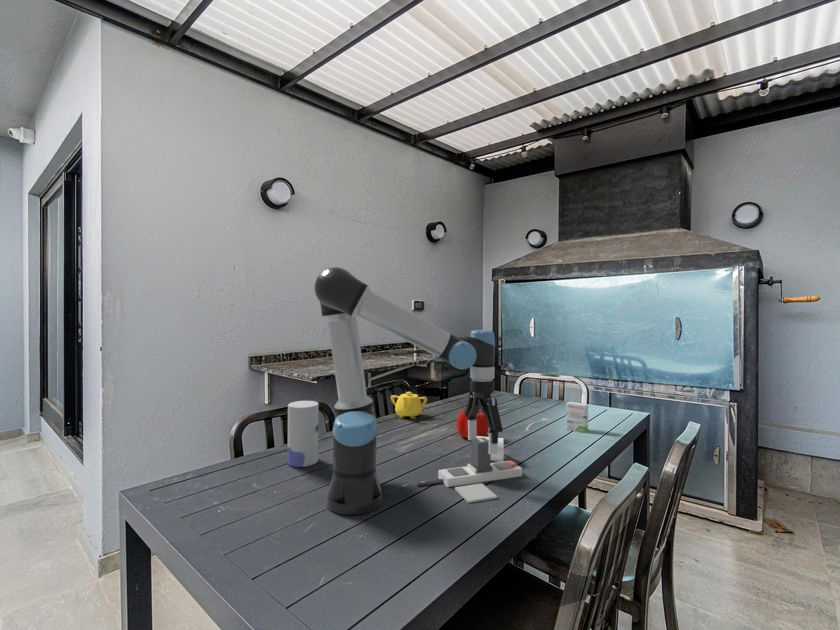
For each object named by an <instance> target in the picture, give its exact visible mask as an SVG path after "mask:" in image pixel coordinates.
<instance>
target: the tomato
mask: <svg viewBox="0 0 840 630" xmlns="http://www.w3.org/2000/svg"><path fill="white" fill-rule="evenodd" d="M465 410H466V409H463V410H461V411H460V412H459V414H458V415H457V419H456V430H457V433H458V434H459V435H460V436H461V437H463V438H466V439H468V419H467V416H465ZM476 417H477V419H476V420H477V436H483V437H487V435H488V434H489V433H488V432H489V426H488V423H487V420H486V417H485V414H484V413H483V412H480V411H479V412H478V414H477V416H476ZM474 420H475V419H474Z"/></svg>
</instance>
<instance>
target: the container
mask: <svg viewBox="0 0 840 630" xmlns="http://www.w3.org/2000/svg"><path fill="white" fill-rule="evenodd" d="M287 404H288V405H287V464H288V465H289V466H291V467H295V468H304V467H310V466H314V465H315V464H316V463H318V461H319V402H318V401H315V400H298V401H293V402H290V403H287Z"/></svg>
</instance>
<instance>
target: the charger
mask: <svg viewBox="0 0 840 630" xmlns="http://www.w3.org/2000/svg"><path fill="white" fill-rule="evenodd" d="M470 463H471V464H470V465H472V466H473V467H474V468H475V469H477V472H482V471H489V470H490V463H492V461H491V454H489V440H487V439H486V438H475V439H472V440H471V462H470Z"/></svg>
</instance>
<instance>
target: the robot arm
mask: <svg viewBox="0 0 840 630" xmlns="http://www.w3.org/2000/svg"><path fill="white" fill-rule="evenodd" d="M314 293H315V296H316V297H317V300H318V301H319V305H320V311H321V318H323V319H324V320H325V321H326V322H327V323H328V324H327V325H328V330H329V337H330V338H329V340H330V347H331V354H332V355H331V356H332V360H333V369H334V376H335V377H334V378H335V383H336V391H337V398H338V400H337V402H336V403H335V404H334V414H335V415H334V416H335V420H334V422H333V427H332V435H333V440H332V441H333V444H332V445H333V448H332V450H333V452H332V453H333V456H332V457H333V459H332V460H333V461H332V477H331V479H330V483H329V486H328V489H327V492H326V495H325V504H326V508H327V509H328V510H330V512H331V511H332V512H333V513H335V514H339V515H345V516H357V515H362V514H367V513H370V512H373V511H375V510H376V509H378V508H379V507H380V506H381V505H382V502H383V490H382V488H381V484H380V482H379V481H380V480H379V477H378V475H377V433H378V425H377V418H376V416H375V410H374V404H373V398H371V397H370V396H368V395H367V393H368V392H367V387H366V379H365V373H364V365H363V364H364V363H363V356H362V349H361V343H360V335H359V327H358V326H359V325H358V320H357V319H358V317H360V318H362V319H364V320H365V321H368V322H370V323H372V324H373V325H375V326H377V327H380V328H381V329H383V330H385V331H387V332H389V333H391V334H393V336H394V335H395V336H396V337H398V338H401V340H402V339H403V341H406V342H408V343H410V344H411V345H413V346H416V347H417V348H419V349H422V350H424V351H425V352H427V353H429V354H430V355H432V357H433V360H434V361H435V362H441V363H444V362H446V363H448V365H449V364H450V365H451V366H452V367H454V368H455V369H459V370H467V369H469V370H470V371H469V373H470V376H469V378H470V379H471V380H470V385H469V387H470V390H469V392H468V398H467V402H466V403H467V404H466V407H465V409H464V410H465V416H467V419H468V438H467V440H468V441H472V439H475V438H477V420H476V419H477V417H476V416H477V414H478V412H480V410H481V413H484V414H485V417H486V420H487V423H488V426H489V427H488V433H487V434H488V437H489V454H497V453H498V438H499V433H502V432H503V425H502V421H501V417H500V413H499V409H498V399H497V398H492V394H493V393H494V392H495V391H496V390H495V386H496V385H495V384H496V383H495V380H494V379H495V371H496V368H495V361H496V360H495V359H496V358H495V357H496V355H495V354H496V353H495V352H496V349H495V348H496V342H495V341H496V340H495V333H494V332H493V331H492V330H489V329H485V330H484V329H475V330H471V331H470V335H469V336H459V337H458V336H456V335H453V334H452V333H450V332H448V331H446V330H445V329H442V328H440V327H439V326H437V325H435V324H433V323H431V322H430V321H428V320H426V319H424V318H422V317H419V316H418V315H416V314H415V313H413V312H411V311H409V310H407V309H405V308H404V307H402V306H399V305H397V304H396V303H394V302H392V301H390V300H388V299H386V298H384V296H381V295H379V294H377V293H375V292H373V291H372V290H371V287H370V286H369V285H368V284H366V283H365V282H363V281H362V280H359V279H358V278H356V277H355V276H354V275H353V274H352V273H351V272H349V271H348V270H346V269H344V268H342V267H337V266H336V267H335V266H333V267H329V268H326V269H324V270H323V271H321V272H320V273H319V275H318V276H317V277H316V279H315V282H314ZM474 419H475V420H474Z"/></svg>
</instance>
